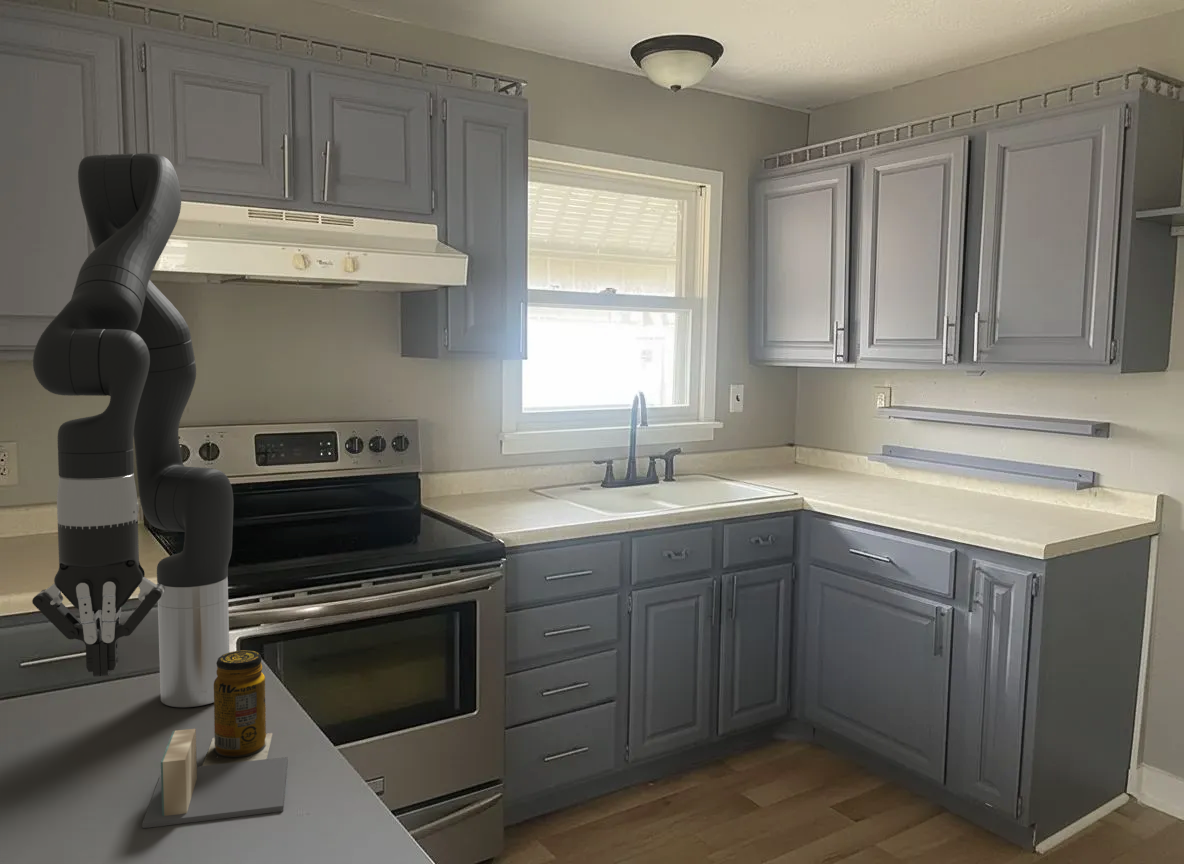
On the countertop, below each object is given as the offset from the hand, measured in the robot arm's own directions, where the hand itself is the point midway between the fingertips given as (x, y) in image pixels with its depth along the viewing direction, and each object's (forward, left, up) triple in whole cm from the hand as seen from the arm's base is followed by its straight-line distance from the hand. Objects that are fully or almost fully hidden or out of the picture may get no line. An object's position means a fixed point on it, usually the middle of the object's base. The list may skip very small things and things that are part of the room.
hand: (103, 673), depth 97 cm
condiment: (-11, +13, -15) cm, 22 cm away
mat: (0, +12, -15) cm, 19 cm away
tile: (+5, +8, -11) cm, 15 cm away
